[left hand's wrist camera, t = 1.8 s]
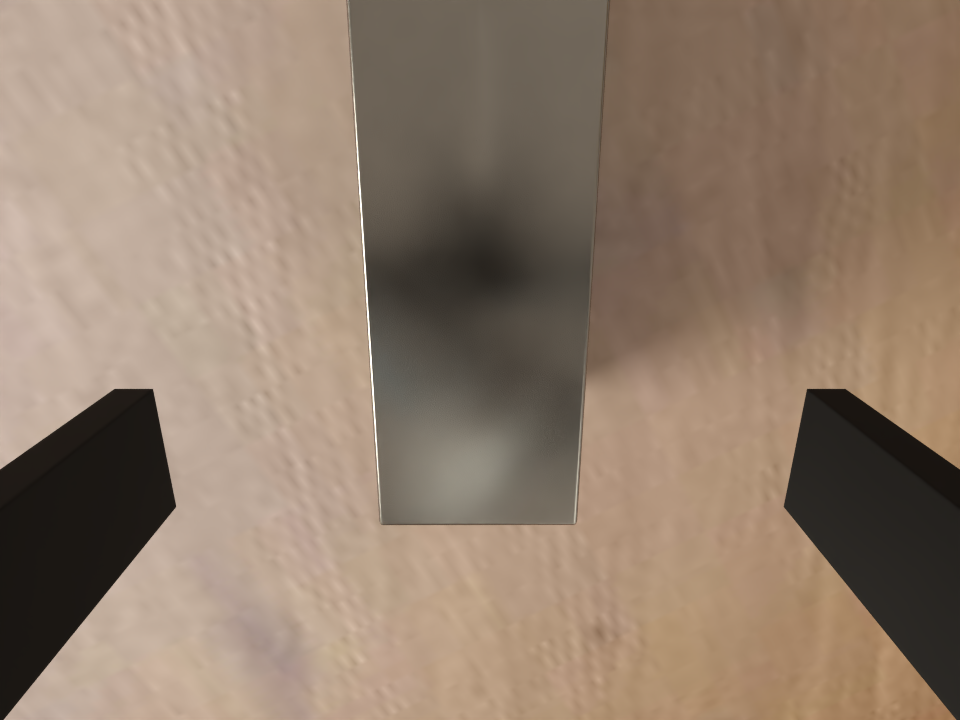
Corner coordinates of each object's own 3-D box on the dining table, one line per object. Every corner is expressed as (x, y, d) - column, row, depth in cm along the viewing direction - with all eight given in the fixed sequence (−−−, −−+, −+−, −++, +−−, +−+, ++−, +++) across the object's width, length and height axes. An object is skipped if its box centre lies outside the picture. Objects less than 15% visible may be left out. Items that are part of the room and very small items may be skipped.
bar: (543, 395, 25) (577, 525, 17) (412, 395, 25) (379, 526, 17) (577, -473, 17) (682, -1109, 8) (378, -474, 17) (274, -1113, 8)
